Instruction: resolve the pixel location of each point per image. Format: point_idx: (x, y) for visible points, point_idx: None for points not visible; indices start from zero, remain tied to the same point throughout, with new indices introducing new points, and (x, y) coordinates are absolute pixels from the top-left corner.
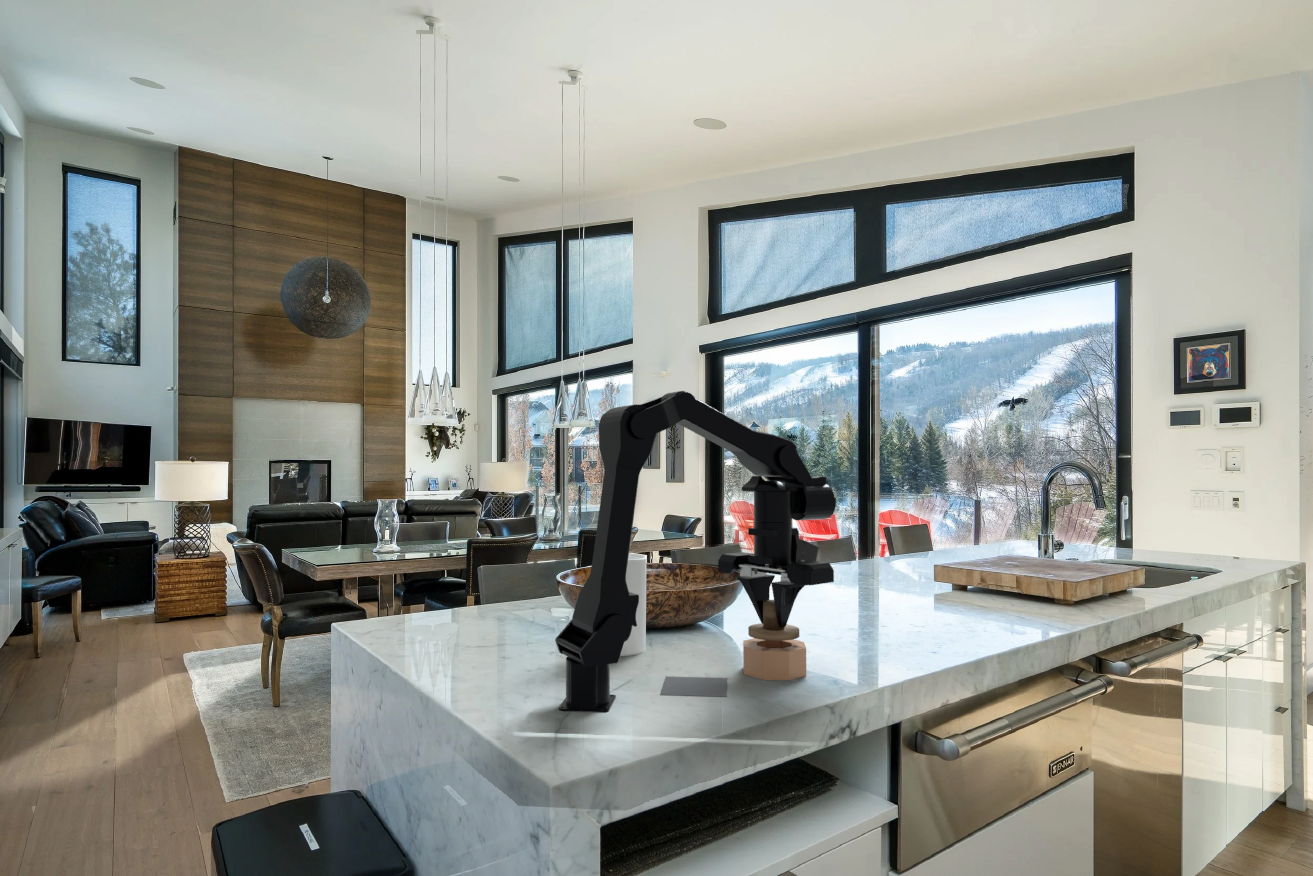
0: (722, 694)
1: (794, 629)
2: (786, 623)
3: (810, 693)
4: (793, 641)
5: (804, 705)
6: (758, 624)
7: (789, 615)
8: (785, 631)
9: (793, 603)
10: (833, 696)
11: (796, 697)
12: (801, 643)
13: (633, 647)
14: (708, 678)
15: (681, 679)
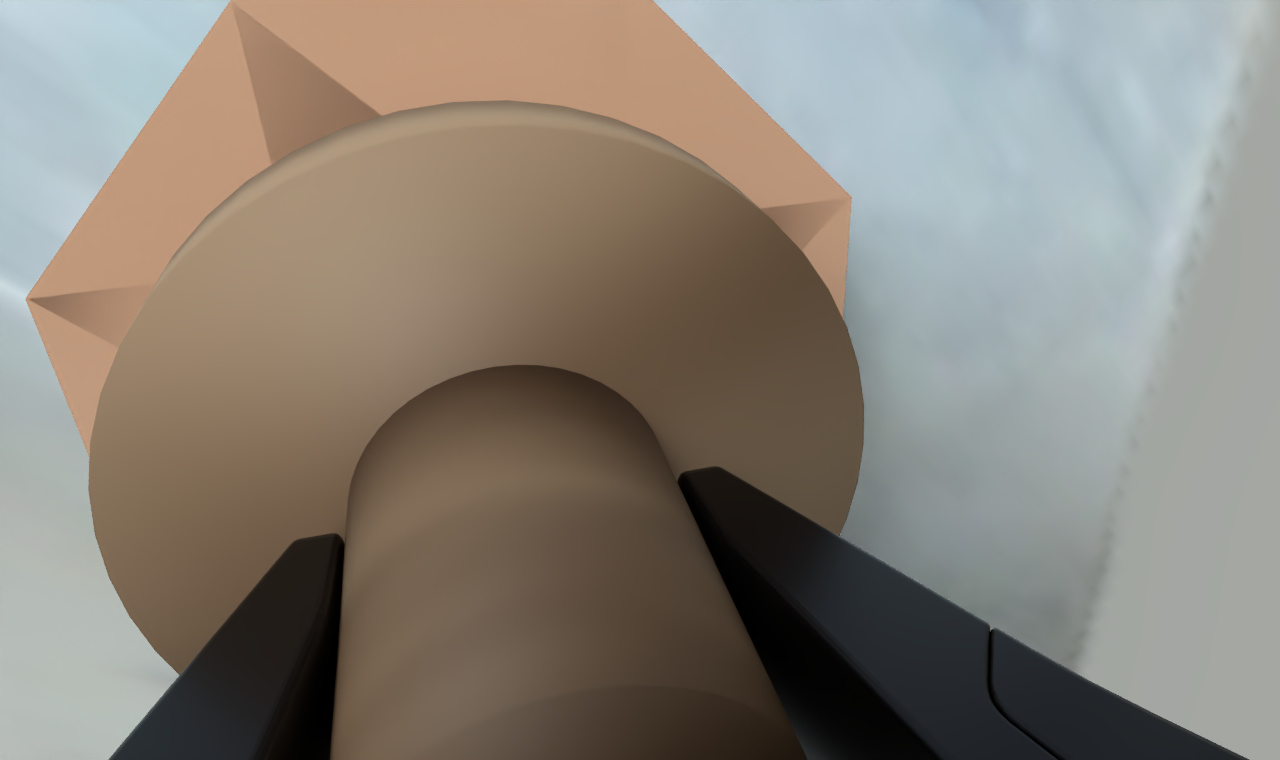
0: None
1: (758, 315)
2: (745, 487)
3: (979, 360)
4: (520, 85)
5: (1065, 522)
6: (145, 545)
7: (839, 539)
8: (756, 486)
9: (1031, 656)
10: (1119, 280)
11: (960, 478)
12: (670, 77)
13: None
14: None
15: None
